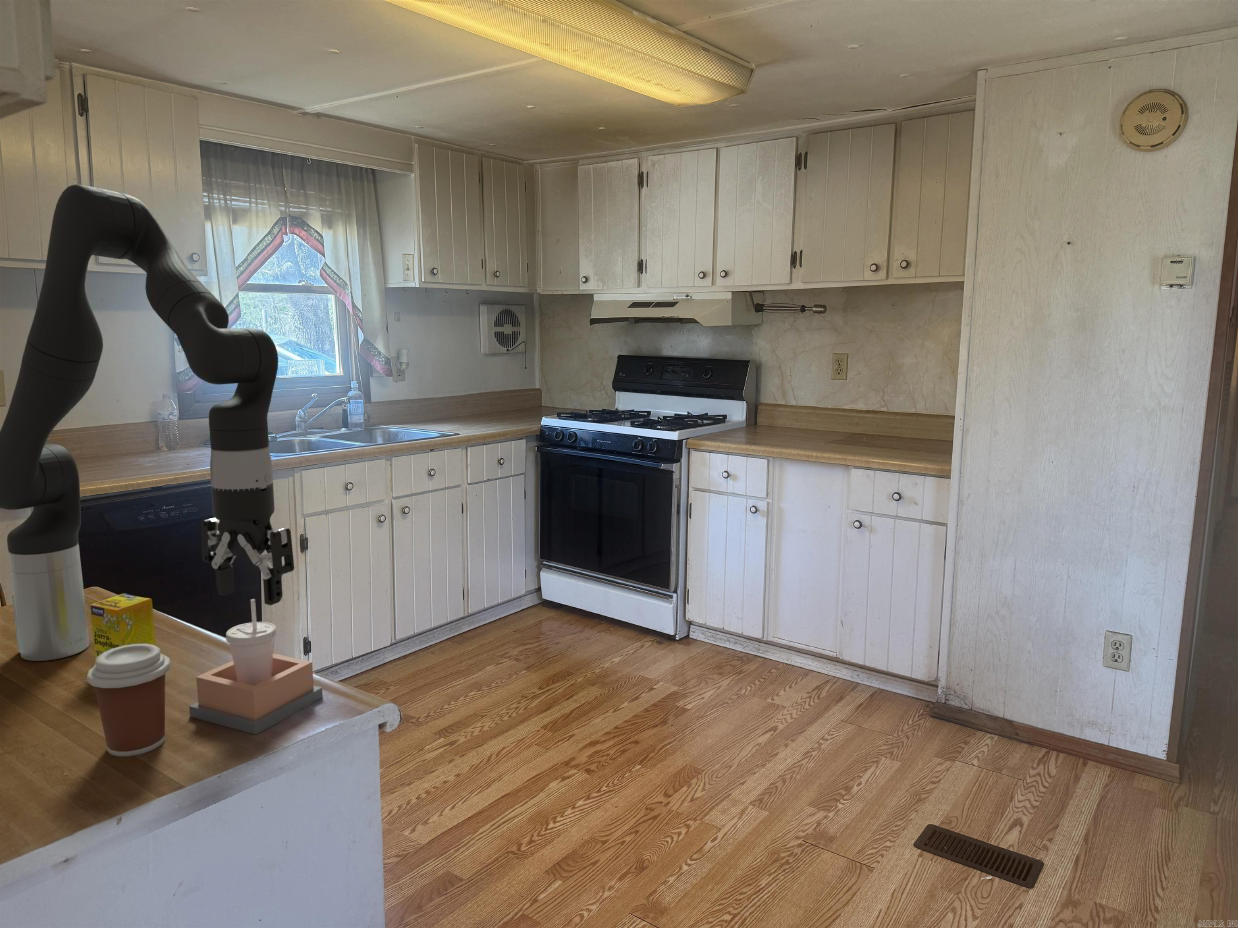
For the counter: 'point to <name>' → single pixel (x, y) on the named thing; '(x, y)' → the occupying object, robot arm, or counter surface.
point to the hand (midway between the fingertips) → (249, 598)
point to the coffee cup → (131, 697)
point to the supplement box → (122, 622)
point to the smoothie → (252, 649)
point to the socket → (255, 695)
